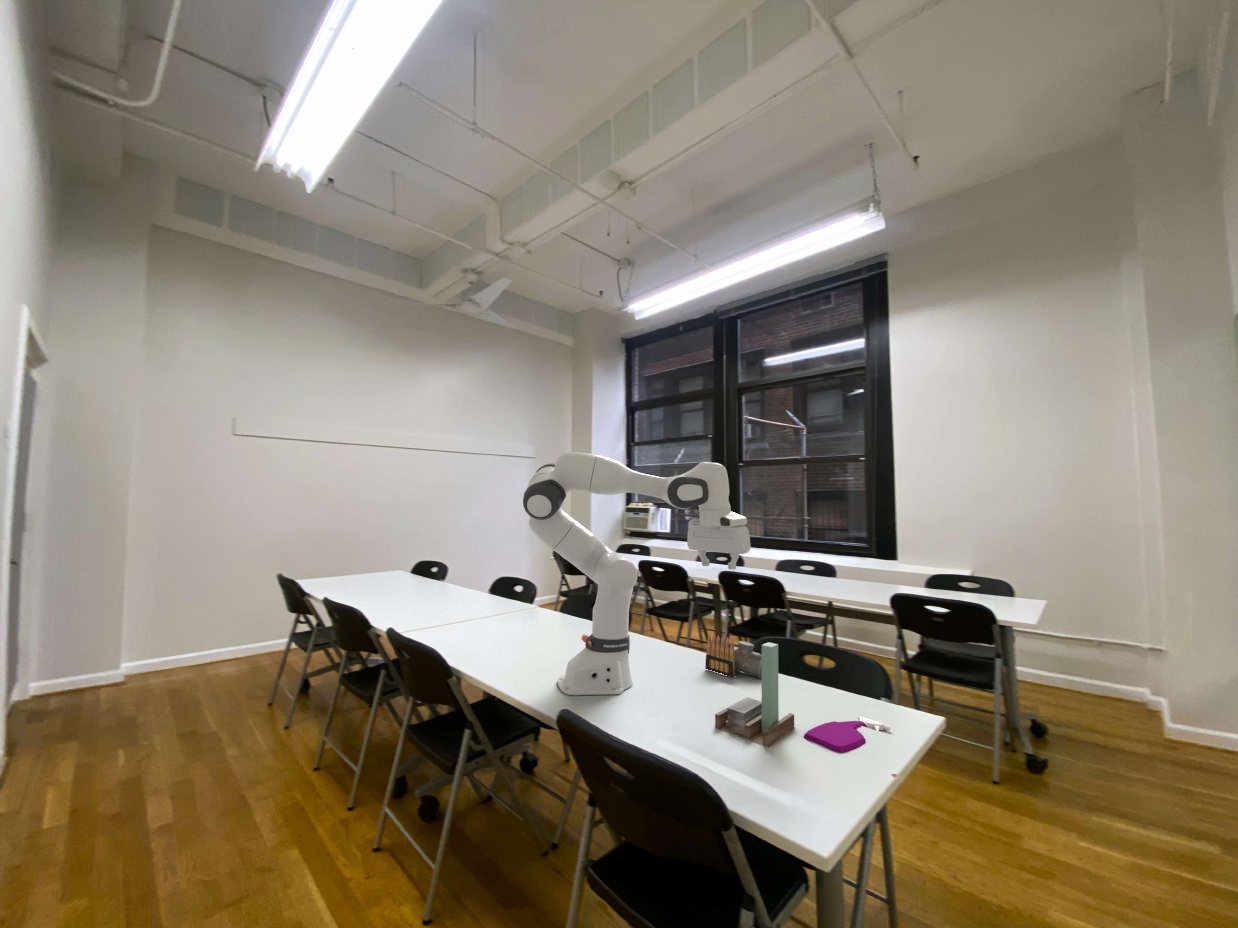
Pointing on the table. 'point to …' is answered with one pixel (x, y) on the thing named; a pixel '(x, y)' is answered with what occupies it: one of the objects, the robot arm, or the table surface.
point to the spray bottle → (842, 734)
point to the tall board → (769, 685)
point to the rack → (758, 728)
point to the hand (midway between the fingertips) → (718, 567)
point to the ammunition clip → (721, 656)
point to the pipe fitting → (748, 659)
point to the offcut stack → (742, 714)
